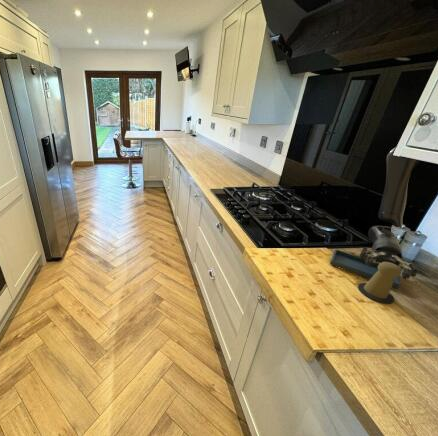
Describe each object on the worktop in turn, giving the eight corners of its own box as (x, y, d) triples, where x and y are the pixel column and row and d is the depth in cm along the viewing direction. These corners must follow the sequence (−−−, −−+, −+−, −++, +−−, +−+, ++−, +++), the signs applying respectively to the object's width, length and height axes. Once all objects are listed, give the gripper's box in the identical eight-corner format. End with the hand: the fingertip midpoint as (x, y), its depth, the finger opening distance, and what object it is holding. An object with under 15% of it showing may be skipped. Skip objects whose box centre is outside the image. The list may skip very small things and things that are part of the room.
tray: (395, 274, 87) (398, 269, 86) (397, 289, 80) (400, 284, 79) (333, 252, 99) (335, 248, 98) (329, 264, 91) (331, 260, 90)
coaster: (393, 293, 78) (393, 292, 78) (394, 308, 72) (395, 307, 72) (358, 280, 83) (359, 279, 83) (356, 293, 77) (357, 292, 77)
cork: (366, 283, 81) (382, 256, 76) (389, 293, 77) (407, 266, 72) (360, 289, 78) (376, 262, 73) (384, 301, 74) (402, 273, 69)
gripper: (366, 234, 89) (364, 251, 78) (419, 249, 81) (425, 271, 70) (357, 251, 93) (354, 269, 82) (407, 267, 84) (412, 290, 73)
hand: (387, 270), depth 76 cm, fingers open, 8 cm apart
